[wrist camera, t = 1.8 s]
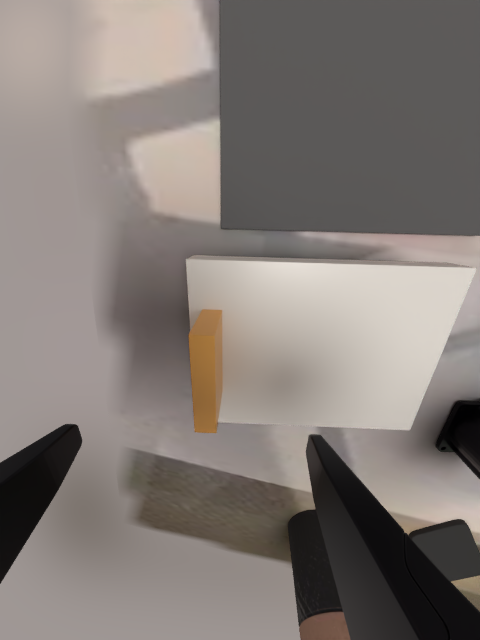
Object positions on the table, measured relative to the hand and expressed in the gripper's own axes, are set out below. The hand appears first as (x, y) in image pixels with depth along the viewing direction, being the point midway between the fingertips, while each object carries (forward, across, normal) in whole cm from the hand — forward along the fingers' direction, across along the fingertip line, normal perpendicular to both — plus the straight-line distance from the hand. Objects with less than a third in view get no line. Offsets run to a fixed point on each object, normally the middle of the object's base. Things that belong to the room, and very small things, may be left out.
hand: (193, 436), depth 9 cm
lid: (+8, -6, 0) cm, 11 cm away
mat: (+12, -9, -15) cm, 21 cm away
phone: (+13, -32, +35) cm, 49 cm away
